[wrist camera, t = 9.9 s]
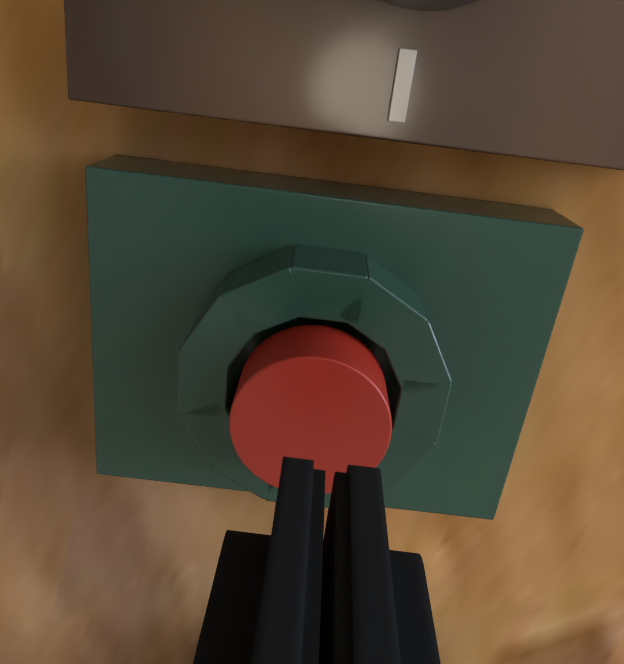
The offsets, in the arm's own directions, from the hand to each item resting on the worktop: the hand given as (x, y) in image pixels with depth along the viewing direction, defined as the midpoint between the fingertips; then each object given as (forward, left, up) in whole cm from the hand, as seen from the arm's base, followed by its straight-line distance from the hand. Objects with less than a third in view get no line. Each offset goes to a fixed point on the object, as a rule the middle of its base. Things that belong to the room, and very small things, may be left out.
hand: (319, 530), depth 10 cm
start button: (0, 0, -5) cm, 5 cm away
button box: (0, 0, -8) cm, 8 cm away
